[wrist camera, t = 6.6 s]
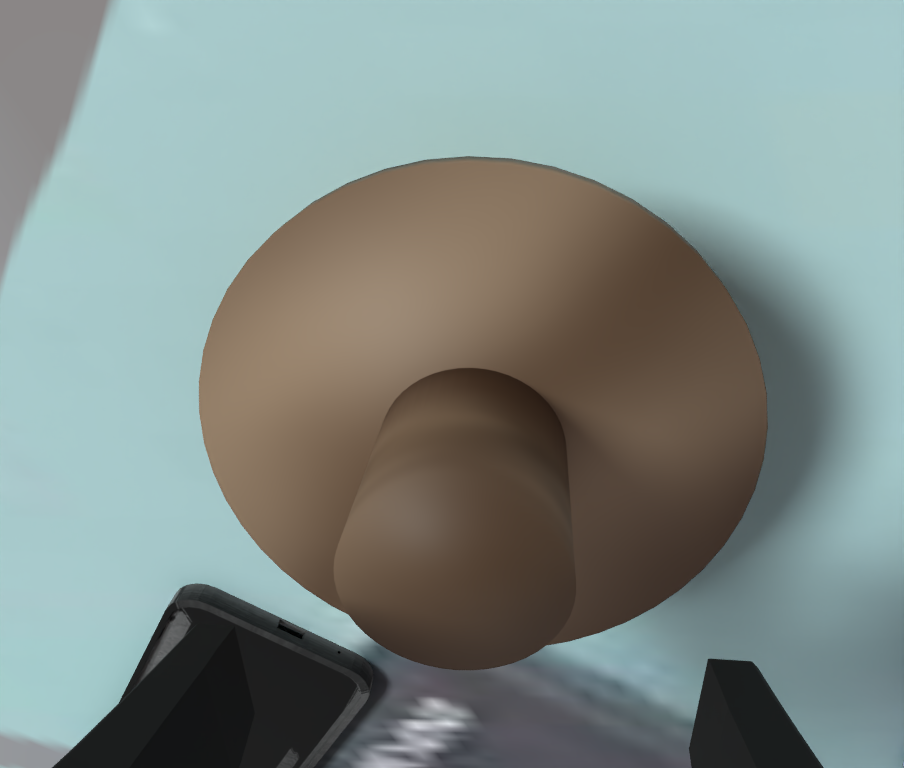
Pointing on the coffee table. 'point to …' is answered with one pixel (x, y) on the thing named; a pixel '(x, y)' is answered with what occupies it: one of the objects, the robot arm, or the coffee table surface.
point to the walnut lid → (482, 407)
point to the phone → (272, 676)
